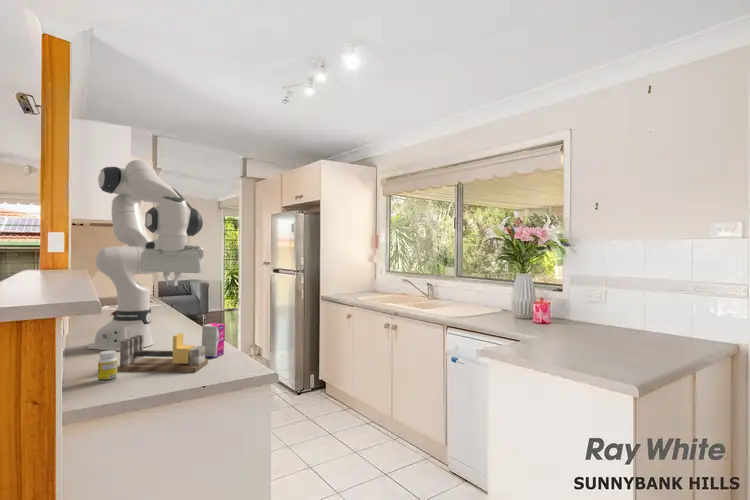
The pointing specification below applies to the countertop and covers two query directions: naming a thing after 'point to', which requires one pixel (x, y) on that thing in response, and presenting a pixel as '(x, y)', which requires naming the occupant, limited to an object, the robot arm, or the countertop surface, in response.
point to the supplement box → (213, 339)
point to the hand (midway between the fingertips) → (171, 285)
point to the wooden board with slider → (135, 362)
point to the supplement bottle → (107, 367)
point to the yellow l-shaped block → (181, 350)
